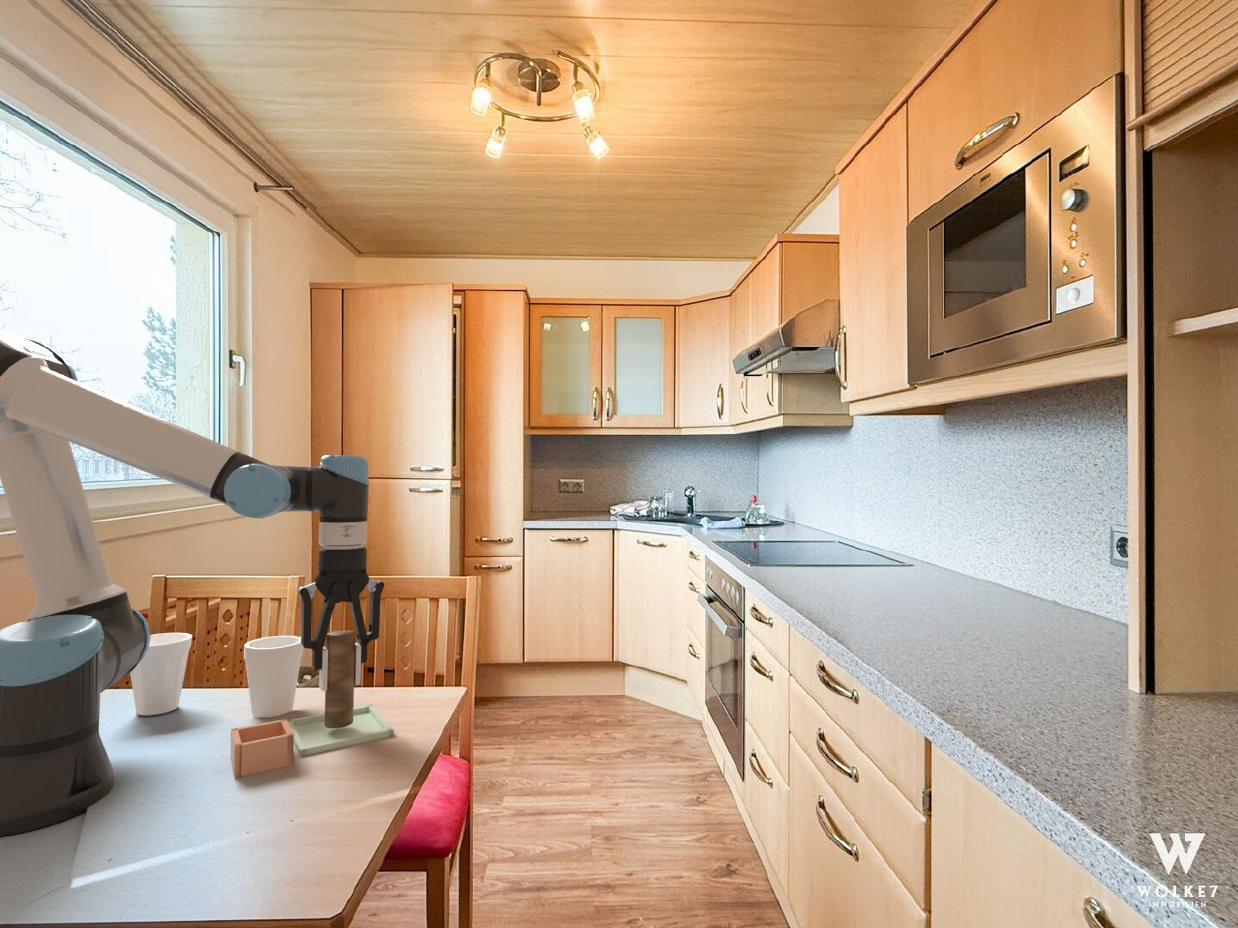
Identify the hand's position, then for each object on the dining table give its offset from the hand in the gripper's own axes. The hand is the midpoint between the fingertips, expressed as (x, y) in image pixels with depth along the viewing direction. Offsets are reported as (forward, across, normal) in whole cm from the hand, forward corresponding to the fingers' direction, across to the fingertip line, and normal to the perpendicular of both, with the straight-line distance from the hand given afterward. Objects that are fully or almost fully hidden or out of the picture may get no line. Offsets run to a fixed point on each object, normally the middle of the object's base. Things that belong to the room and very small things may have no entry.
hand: (339, 685), depth 106 cm
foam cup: (+8, -8, +16) cm, 20 cm away
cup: (+8, -25, +29) cm, 39 cm away
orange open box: (+8, -12, -6) cm, 16 cm away
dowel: (+6, 0, 0) cm, 6 cm away
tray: (+8, 0, 0) cm, 8 cm away
